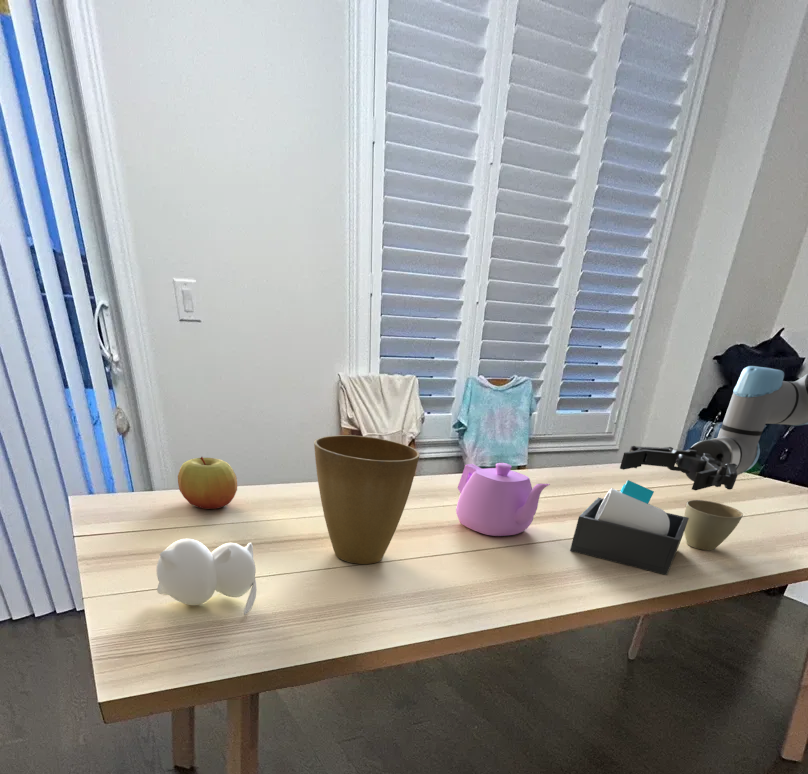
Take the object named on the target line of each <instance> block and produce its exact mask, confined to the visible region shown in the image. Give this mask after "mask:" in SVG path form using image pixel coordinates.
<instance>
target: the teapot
mask: <svg viewBox="0 0 808 774" xmlns="http://www.w3.org/2000/svg"><path fill="white" fill-rule="evenodd" d="M511 469H512V465H511V464H509V463H506V462H497V463H495V467H485V468H482V467H480V466H478V465H476V464H474V463H467V464H465V465H464V468H463V471H462V473H461V477H460V479H459V482H458V485H457V490H458V491H459V493H460V494H459V497H458V499H457V503H456V508H455V514H456V516H457V517H456V518H457V519H458V521H459V523H460V524H461V525H462V526H464V527H466V528H468V529H470V530H472V531H475V532H478V533H480V534H483V535H486V536H493V537H494V536H495V537H503V536H504V537H505V536H506V537H507V536H514V535H518V534H521V533H524V532H525V531H526V530H527V529H528V528H529V527H530V526H531V524H532V523H533V520H534V516H536V515H535V514H536V513H537V510H538V507H539V501H540V497H541V494H542V492H543V490H544V489H545V488H547V487H549V486H551V484H550V483H537V484H535V485H534V486H533V487H532V482H531V479H530V477H529V476H528V475H526V474H523V473H520V472H517V471H515V470H511Z"/></svg>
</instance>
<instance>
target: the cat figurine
mask: <svg viewBox="0 0 808 774" xmlns="http://www.w3.org/2000/svg"><path fill="white" fill-rule="evenodd" d="M254 560H255V559H254V546H253V543H252V542H248V543H247V545H246V546H242V545H240V543H239V544H238V543H236V542H226V543H223V544H221V545H219V546H218V547H216V548H215V549H214V550H213V551H211V550H209V548H208V547H207V546H206V545H205V544H204V543H203V542H200V541H199V540H197V539H194V538H180V539H178V540H176V541H174V542H172V543H171V544H170V545H168V546H167V547H166V548H165V549H164V550H162V551H161V552H159V557H158V561H157V563H156V577H157V580H158V584H157V587H156V591H157V594H158V595H163V596H168V597H171V598H172V599H174V601H177V602H179V603H181V604H184V605H187V606H200V605H203V604H205V603H206V602H208V601H209V600H210V599H211V598H212V597H213V595H214V593H215V591H216V592H217V593H219V594H221V595H224V596H227V597H229V598H241V597H243V596H244V595H246V594H247V593H248V592H249V591H250V592H249V595H248V597H247V600H246V603H245V606H244V609H243V616H244V617H246V616H248V614H249V613H250V612H251V610H252V608H253V606H254V604H255V601H256V598H257V592H258V591H257V581H256V569H257V568H256V564H255V561H254Z"/></svg>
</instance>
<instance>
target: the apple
mask: <svg viewBox="0 0 808 774" xmlns="http://www.w3.org/2000/svg"><path fill="white" fill-rule="evenodd" d="M177 485H178V489H179V490H178V491H179V492H180V494H181V495H182V497H183V498H184V499H185V500H186V501H187V502H188V503H189V504H190V505H192V506H193V507H195V508H199V509H204V510H218V509H222V508H223V507H226V506H228V505H229V504H231V502H232V501H233V499H234V498H235V496H236V494H237V491H238V478H237V475H236V473H235V471H234V469H233V468H232V466H231V465H230V464H229V463H228V462H226V461H225V460H222V459H219V458H215V457H203V456H201V457H194V458H190V459H188V460H187V461H186V460H185V461H184V462H183V463H182V465H181V466H180V468H179V471H178V474H177Z"/></svg>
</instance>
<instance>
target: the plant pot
mask: <svg viewBox="0 0 808 774" xmlns="http://www.w3.org/2000/svg"><path fill="white" fill-rule="evenodd" d="M313 446H314V447H313V448H314V460H315V468H316V477H317V484H318V490H319V496H320V502H321V506H322V512H323V516H324V520H325V525H326V529H327V534H328V536H329V539H330V543H331V546H332V549H333V552H334V555H335V556H336V557H337V558H338V559H340V560H341V561H344V562H347V563H350V564H358V565H371V564H376V563H379V562H380V561H382V559H383V558H384V555H385V554H386V552H387V550H388V547H389V546H390V543H391V542H392V539H393V537H394V535H395V533H396V531H397V528H398V526H399V524H400V520H401V518H402V516H403V513H404V510H405V508H406V504H407V502H408V498H409V496H410V492H411V489H412V485H413V483H414V478H415V475H416V471H417V467H418V464H419V459H420V456H421V454H420V452H419V451H418V450H417V449H415V448H414V447H412V446H410V445H406V444H404V443H401V442H397V441H394V440H389V439H384V438H379V437H372V436H363V435H351V434H350V435H349V434H342V435H339V434H338V435H337V434H336V435H327V436H321V437H318V438H316V439H315V440H314V441H313Z"/></svg>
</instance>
